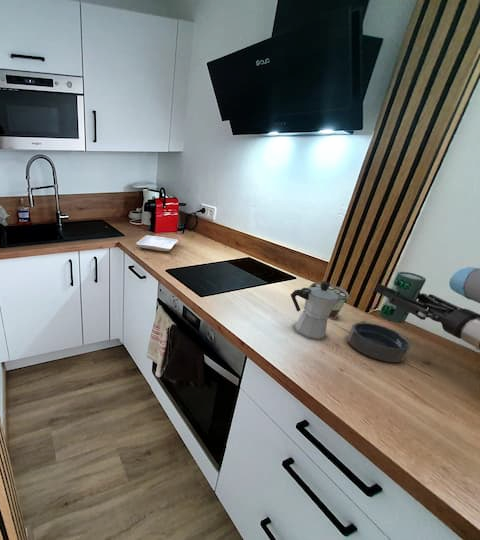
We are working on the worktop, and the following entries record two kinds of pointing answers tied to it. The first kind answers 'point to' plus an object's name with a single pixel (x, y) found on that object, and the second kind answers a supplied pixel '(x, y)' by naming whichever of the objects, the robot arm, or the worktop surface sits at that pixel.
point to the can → (407, 287)
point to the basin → (378, 342)
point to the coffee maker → (315, 310)
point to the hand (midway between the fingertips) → (387, 287)
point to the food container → (340, 303)
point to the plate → (157, 243)
